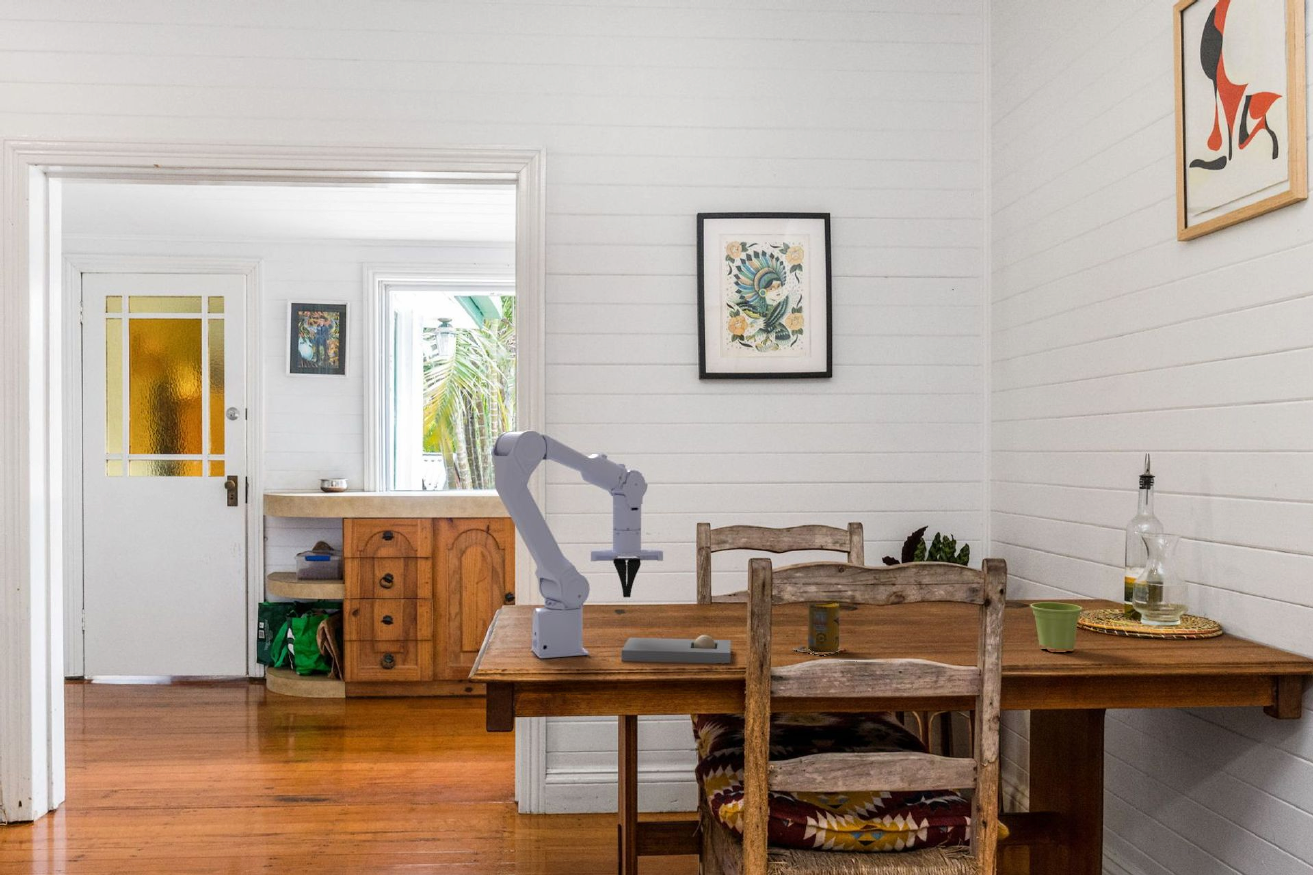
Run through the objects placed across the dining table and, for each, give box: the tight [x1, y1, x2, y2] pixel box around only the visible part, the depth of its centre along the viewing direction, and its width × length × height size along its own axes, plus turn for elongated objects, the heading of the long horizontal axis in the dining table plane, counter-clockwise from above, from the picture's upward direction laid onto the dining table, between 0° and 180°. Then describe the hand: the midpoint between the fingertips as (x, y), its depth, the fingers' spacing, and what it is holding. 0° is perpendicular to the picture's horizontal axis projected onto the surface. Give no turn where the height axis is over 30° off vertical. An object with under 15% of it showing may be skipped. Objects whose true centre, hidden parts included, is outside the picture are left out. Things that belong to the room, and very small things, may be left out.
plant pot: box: [1029, 601, 1083, 649], centre depth 177 cm, size 9×9×9 cm
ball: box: [694, 634, 715, 649], centre depth 170 cm, size 4×4×4 cm
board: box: [621, 637, 732, 665], centre depth 171 cm, size 20×11×2 cm, turn 85°
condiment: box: [792, 603, 840, 657], centre depth 176 cm, size 7×8×12 cm
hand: (626, 596), depth 181 cm, fingers closed
